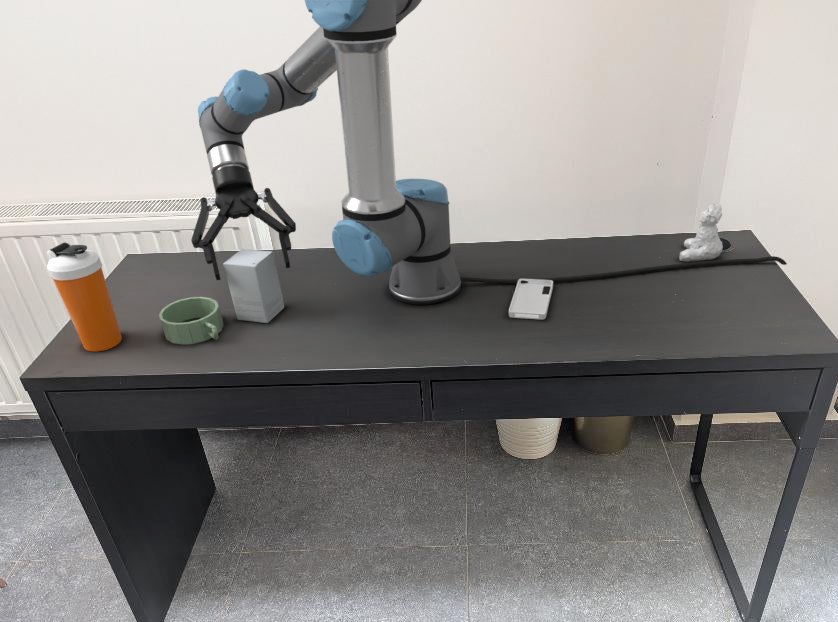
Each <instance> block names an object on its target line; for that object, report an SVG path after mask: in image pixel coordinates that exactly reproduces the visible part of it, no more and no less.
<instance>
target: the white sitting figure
mask: <svg viewBox="0 0 838 622" xmlns="http://www.w3.org/2000/svg"><path fill="white" fill-rule="evenodd" d="M722 208H723V207H722V205H721V204H719V205H717V204H715V203H711V204H708V206H707V208H706V209H705V210H703V211H701V215H700V216H699V218H698V221H699V222H700V224H699V226H698V228H697V230H696V233H695V237H691V238H686V239H685V240H684V242H683V247H684V248H686V249H684V250H682V251H680V252H679V256H678V257H679V261H680V262H683V263H691V262H703V261H714V260H716V259H717V258H718V257H720V255H721V254H722V252H723V250H724V249H723V248H724V246H723V241H721V239H720V237H719V227H718V226H717V224H719V221H721V218H722V217H723V211H722V210H723V209H722Z"/></svg>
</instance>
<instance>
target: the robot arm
mask: <svg viewBox="0 0 838 622" xmlns="http://www.w3.org/2000/svg"><path fill="white" fill-rule="evenodd" d="M422 1H423V0H304V3H305V6H306V9H307V11H308V12H309V13H311V14H312V15H311V18H312V20H313V21H314V22H315V23H316V25H318V26H319V27H318V28H316V30H315V31H314V32H313V33H312V34H311V35H310V36H309V37H308V38H307V39H306V40H305V41H304V42H303V43H302V44H301V45H300V46H299V47H298V48H297V49H296V50H295V51H294V52H293V53H292V54H291V55H290V56H289V57H288V59H287V60H286V61H285V62H284V63H282V64H281V66H280V67H278V68H277V69H275V70H272V71H268V72H265V73H261V74H259V73H257V72H256V71H253V70H249V69H245V68H243V69H239V70H237V71H235V72H234V73H233V74H232V76H231V77H230V78H229V79H228V80H227V81H226V82H225V84H224V86H223V88H222V90H221V92H220V93H219V95H218V96H210V97H208V98H206V100H203V101H201V102H200V104H199V105H198V107H197V114H198V123H199V124H198V125H199V128H200V132H201V136H202V140H203V144H204V149H205V152H206V155H207V162H208V166H209V171H210V175H211V176H212V177H211V180H212V183H213V189H214V192H215V198H213V199H208V198H206V197H201V198H200V210H199V214H198V217H197V220H196V224H195V226H194V230H193V233H192V237H191V239H190V240H191V244H192V247H193V248H194V249H202V250H203V255H204V259H205V262H206V264H207V265H211V264H212V268H213V273H214V277H215V279H216V281H221V274H220V269H219V266H218V265H219V264H218V261H217V257H216V252H215V248H214V245H213V243H214V241H215V240H216V238H217V236H218V235H219V234H220V232H221V230H222V228H224V225H225V224H226V223H227V222H228V220H229V219H232V220H237V219H240V218H249V216H251V215H252V216H253V217H255V218H257V219H259V220H260V221H261V222H263V223H264V224H266V225H267V226H269V227H270V228H271V229H272V230H274V231H275V232H277V233H278V239H279V244H280V248H281V252H282V256H283V261H284V264H285V265H284V266H285V269H290V268H291V262H290V257H289V254H288V251H291V250H292V242H291V237H290V234H291V233H295V232H296V231H297V223H296V222H295V221H294V219H292V217H291V216H290V215H289V213H287V212H286V210H285V209H284V208H283V207H282V206H281V204H280V203H279V202H278V201H277V200H276V199H275V198H274V196H273V193H272V190H271V188H269V187H265V188H264V190H262V191H259V192H257V191H256V190H255V187H254V185H253V183H254V182H253V180H252V179H253V178H252V175H251V172H250V167H249V162H248V158H247V157H248V156H247V153H246V150H245V144H244V140H243V135H244V134H245V132H246V131H247V130H248V129H249V127H250V126H251V124H252V123H254V122H255V121H256V120H258V119H261V118H265V117H268V116H271V115H274V114H277V113H280V112H283V111H287V110H290V109H294V108H296V107H302V106H304V105H305V104H307V103H309V102H312V101H313V100H314V99H315V98H316V97H317V93H318V90H319V87H320V86H322V85H323V83H324V82H326V81H327V80H328V79H329V78H330V77H331V76H333V74H335V73H336V77H337V86H338V96H339V97H338V98H339V106H340V117H341V126H342V136H343V147H344V157H345V158H344V159H345V166H346V175H347V176H346V177H347V186H348V192H347V194H346V195H344V196H343V198H342V199H341V210H342V219H341V220H339V221H337V223H336V224H335V226H334V227H333V229H332V233H331V240H332V245H333V248H334V251H335V253H336V254H337V256H338V258H339V259H340V261H341V262H343V263H344V265H345V266H346V267H347V268H348V269H349V270H350V271H352V272H353V273H355V274H356V275H358V276H362V277H366V278H369V277H370V278H371V277H375V276H377V275H378V276H379V275H380V274H381V273H385V272H388V271H389V270H390V269H391V272H390V276H389V281H388V287H389V294H390V295H391V296H392V297H393V298H394V299H395V300H397V301H398V302H400V303H404V304H409V305H423V306H425V305H433V304H438V303H443V302H445V301H448V300H450V299H452V298H454V297H455V296H457V295H458V294H459V293H460V292H461V289H462V282H463V283H465V282H466V283H484V284H485V283H486V284H503V285H504V284H509V285H511V284H512V285H515V284H516V285H517V283H518V280H519V279H520V278H519V279H518V278H513V279H512V278H485V277H470V276H469V277H468V276H466V277H465V276H461V275H460V273H459V270H458V268H457V265H456V262H455V260H454V257H453V254H452V250H451V229H450V228H451V227H450V226H451V225H450V201H449V195H448V189H447V187H446V186H445V184H443V183H442V182H439V181H438V180H433V179H429V178H402V179H397V178H396V160H395V145H394V130H393V129H394V128H393V112H392V95H391V94H392V93H391V77H390V60H389V47H390V45H391V44H392V42H393V41H394V40H395V39H396V38H397V35H398V33H397V25H399V23H401V21H403V20H404V19H405V18H406V17H407V16H409V15H410V14H411V13H412V12H413V11H415V10H416V8H418V7H419V5H420V4H421V3H422ZM259 200H261V201H262V202H263V203H264V204H265V203H267V205H268V206H269V208H270V210H272V211H273V213H274V214H275V215H276V216H277V217H278V218H279V220H280V221H279V220H278V219H277V218H275V217H274V216H272V215H271V214H270V213H269V212H267V211H266V210H264V209H263V208H262V207H261V206H260V205H259V204H258V203H259ZM214 207H216V208H217V209H218V213H217V216H216V217H215V219H214V220H213V222H212V224H211V225H210V227H209V229H208V230H207V231H206V227H207V223H208V220H209V217H210V212H213V209H214ZM205 231H206V233H205ZM204 233H205V234H204ZM771 261H773V262H777V263H779V264H780V265H782V266H786V265H788V263H787V261H785V259H783V258H782V257H779V256H775V255H772V256H764V257H757V258H756V257H755V258H734V259H717V260H716V259H715V260H704V261H691V262H683V263H676V264H674V263H673V264H665V265H657V266H649V267H642V268H634V269H633V268H632V269H626V270H625V269H624V270H617V271H609V272H601V273H593V274H581V275H572V276H560V277H559V276H558V277H545V278H538V279H539V280H552V281H553V283H560V282H561V283H562V282H572V281H573V282H574V281H582V280H594V279H603V278H610V277H618V276H626V275H634V274H642V273H650V272H655V271H656V272H657V271H665V270H666V271H667V270H674V269H675V270H676V269H682V268H683V269H685V268H693V267H704V266H717V265H718V266H719V265H733V264H757V263H764V262H771ZM521 283H522V284H523V283H528V281H524V280H522V281H521Z"/></svg>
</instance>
